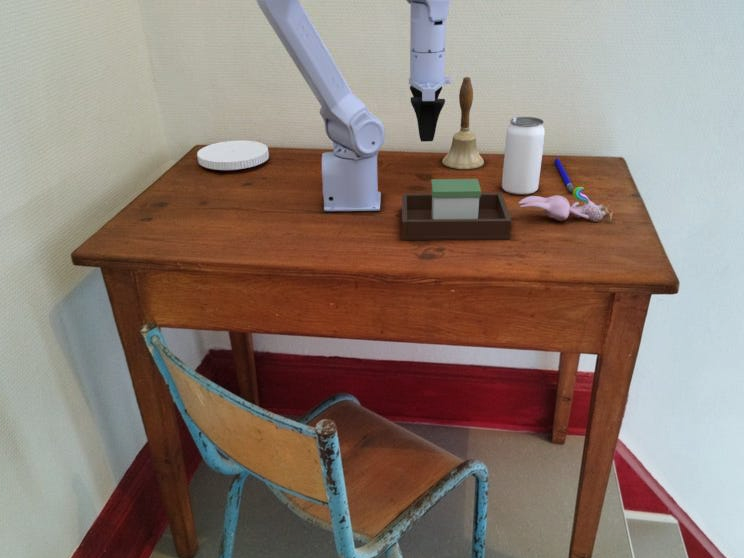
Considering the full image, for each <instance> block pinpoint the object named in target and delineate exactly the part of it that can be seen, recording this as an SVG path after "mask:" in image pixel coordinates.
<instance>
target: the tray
mask: <svg viewBox="0 0 744 558" xmlns="http://www.w3.org/2000/svg"><path fill="white" fill-rule="evenodd" d="M511 231H512V217H511V214H510V212H509V209H508V206H507V203H506V201H505V198H504V195H503V193H502V192H481V197H479V209H478V219H432V192H431V193H401V240H402V241H465V240H466V241H468V240H470V241H471V240H474V241H475V240H476V241H477V240H487V241H488V240H511Z"/></svg>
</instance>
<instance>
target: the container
mask: <svg viewBox="0 0 744 558" xmlns="http://www.w3.org/2000/svg"><path fill="white" fill-rule="evenodd" d="M430 188H431V193H432V219H478V209H479V197H481V193H482V190H481V185H480V182H479V179H478V178H439V179H438V178H432V179H430Z"/></svg>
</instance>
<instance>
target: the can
mask: <svg viewBox="0 0 744 558" xmlns="http://www.w3.org/2000/svg"><path fill="white" fill-rule="evenodd" d="M545 129H546V128H545V127H544V120H543V119H541V118H540V117H534V116H517V117H513V118H511V119H510V120H509V125H508V127H507V129H506V133H505V145H504V154H503V155H504V157H503V167H502V179H501V188H502V190H503V191H504V192H506V193H508V194H510V195H515V196H528V195H533V194H535V193H536V192H537V191H538V190H539V185H540V176H541V169H542V160H543V152H544V143H545V135H546V130H545Z"/></svg>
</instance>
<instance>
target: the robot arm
mask: <svg viewBox="0 0 744 558" xmlns="http://www.w3.org/2000/svg"><path fill="white" fill-rule="evenodd" d="M405 1H406V2H407V3H408V4H409V5H410V15H409V16H410V20H409V21H410V25H409V26H410V27H409V28H410V29H409V30H410V31H409V33H410V34H409V35H410V37H409V40H410V41H409V45H410V47H409V48H410V49H409V70H410V71H409V78H408V84H409V90H410V93H411V95H412V96H410V104H411V107H412V109H413V110H414V113H415V116H416V121H417V128H418V135H419V140H420V142H433V141H434V138H435V134H436V129H437V125H438V120H439V117H440V115H441V111H442V110H443V108H444V106H445V103H446V99H445V98H439V96H440V95H441V92H442V90H443V87H444V85H450V84H452V77H450V76H445V68H446V67H445V64H446V37H447V18H448V16H449V12H450V11H449V10H450V9H449V8H450V5H451V2H452V1H453V0H405ZM256 3H257V5H258V7H259V9H260V10H261V12H262V14H263V15H264V17H265V18H266V21H268V23H269V25H270V27H271V28H272V29H273V31H274V33H275V34H276V36H277V38H278V39H279V41H280V42H281V44H282V46H283V47H284V49H285V50H286V53H288V55H289V56H290V58H291V60H292V62H293V63H294V65H295V66H296V69H297V70H298V72H299V73H300V74H301V76H302V77H303V79H304V81H305V82H306V84H307V86H308V87H309V89H310V90H311V92H312V94H313V95H314V97H315V98H316V100H317V102H318V103H319V105H320V109H319V115H320V116H321V118H322V120H323V123H324V130H325V134H326V137H327V138H328V139H329V140H330V141H331V142H332V149H333V151H327V152H322V155H321V181H322V191H321V192H322V196H323V211H324V212H379V211H381V201H382V200H381V197H382V193H381V191H379V179H378V175H379V174H378V155H379V151H380V149H381V148H382V146H383V144H384V143H385V138H386V130H385V126H384V123H383V122H382V121H381V119H380V118H378V117H377V116H375V115H373V114H372V113H371V112H370V111H369V109H368V106H367V105H366V104H364V102H363V101H362V100H361V99H360V98H359V97H358V96H356V95H355V93H353V91H352V90H351V88H350V86H349V84H348V82H347V81H346V79H345V77H344V75H343V74H342V72H341V71H340V69H339V67H338V65H337V63H336V62H335V61H334V60H335V59H334V58H333V56H332V55H331V52H329V49H328V48H327V46H326V45H325V42H324V41H323V39H322V38H321V35H320V34H319V32H318V30H317V29H316V27H315V26H314V24H313V22H312V20H311V18H310V16H309V15H308V13H307V12H306V10H305V8H304V6H303V4H302V3H301V1H300V0H256Z"/></svg>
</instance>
